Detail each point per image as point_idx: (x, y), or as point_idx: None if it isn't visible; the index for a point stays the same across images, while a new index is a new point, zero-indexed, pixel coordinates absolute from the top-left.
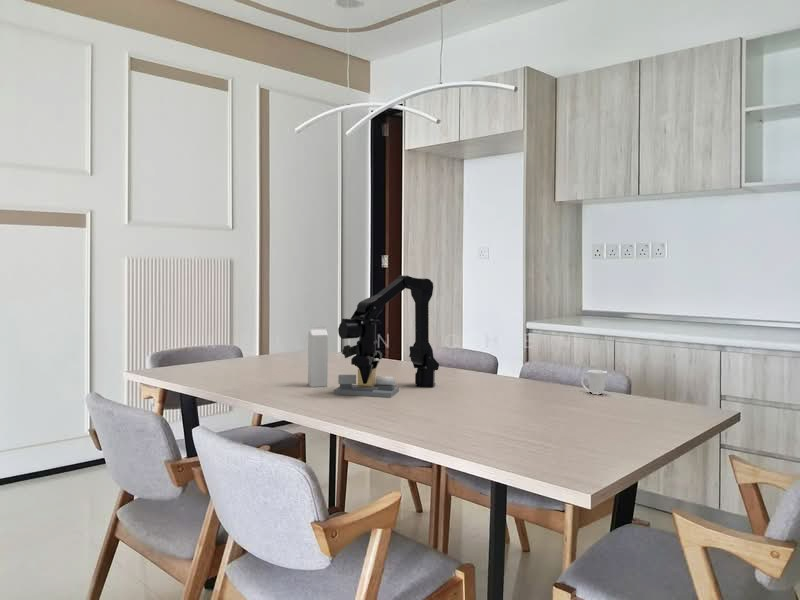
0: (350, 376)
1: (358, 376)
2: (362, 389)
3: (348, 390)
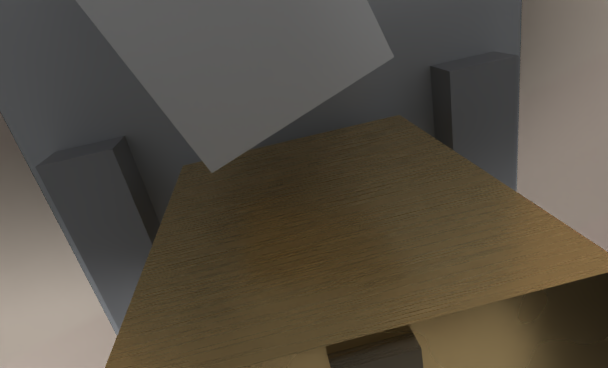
0: (114, 40)
1: (153, 268)
2: (103, 279)
3: (9, 86)
